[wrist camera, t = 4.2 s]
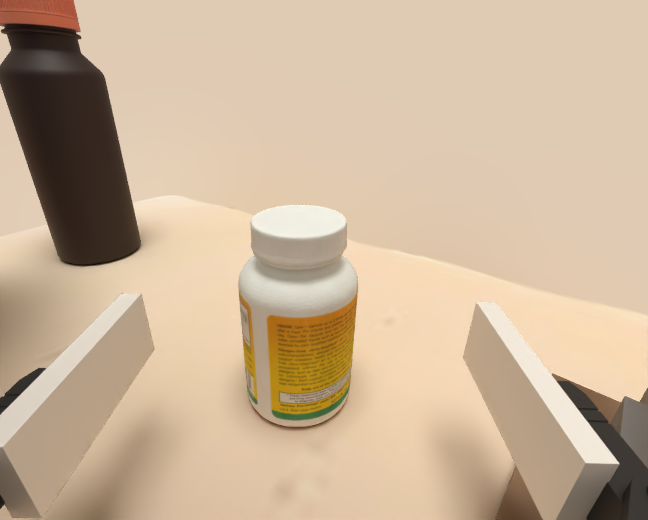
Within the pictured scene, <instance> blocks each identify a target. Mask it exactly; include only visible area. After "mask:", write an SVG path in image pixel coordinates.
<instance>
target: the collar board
mask: <svg viewBox="0 0 648 520" xmlns="http://www.w3.org/2000/svg"><path fill="white" fill-rule="evenodd" d="M552 376H553V378H554V379H555V380H556V381H569V380H567V379H564V378H562V377H560V376H557V375H555V374H553V373H552ZM569 382H571V381H569ZM571 383H572V384H573V385H575V386H576V387H577V388H579V389H580V390H581V391H583V392H584V393H585V394H586V395H587V396H588V397H589V398H590V400H591V401H592V402H593V403H594V404H595V406H596V407H597V408H598V411H599V412H601V413H602V414H603V415H604V416H605V418H606V419H607V420H608V423H609V424H611V425H612V426H613V427H614V428H615V430H616V431H617V432H618V433H619V434H620V436H621V437H622V438H623V439H624V440H625V442H626V443H627V444H628V445H629V446H630V448H631V449H632V450H633V451H634V453H635V454H636V455H637V456H638V457H639V459H640V460H641V461H642V462H643V463H644V465H645V466H646V467H647V468H648V388H647V390H646V392H645V393H644V395H643V397H642V399H641V400H640V402H638V401H636V400H633V399H631V398H628V397H626V396H625V397H624V399H623V401H622V402H618V401H616V400H614V399H611V398H609V397H607V396H604V395H602V394H600V393H597V392H595V391H592V390H590V389H588V388H585V387H583V386H581V385H578V384H576V383H574V382H571ZM496 520H543V519H542V517H541V515H540V513H539V511H538V509H537V507H536V505H535V503H534V501H533V499H532V497H531V495H530V493H529V491H528V489H527V486H526V484H525V482H524V480H523V478H522V476H521V474H520V472H519V470H518V468H517V466H516V468H515V470H514V473H513V476H512V478H511V481H510V483H509V486H508V488H507V491H506V494H505V496H504V499H503V501H502V504H501V507H500V509H499V512H498V514H497V517H496Z"/></svg>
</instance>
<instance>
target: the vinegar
mask: <svg viewBox="0 0 648 520" xmlns="http://www.w3.org/2000/svg"><path fill="white" fill-rule="evenodd" d="M0 26H4V27H5V28H4V29H2V30H1V32H2V33H4V34H7V36H8V39H9V43H10V46H11V51H10V53H9V54H8V55H7V57H6V58H5V60H4V61H3V62H2V64H1V65H0V84H1V87H2V90H3V93H4V96H5V99H6V102H7V105H8V108H9V111H10V114H11V117H12V119H13V122H14V125H15V128H16V131H17V134H18V137H19V140H20V143H21V146H22V149H23V152H24V155H25V158H26V161H27V164H28V167H29V170H30V173H31V176H32V179H33V182H34V185H35V188H36V191H37V194H38V197H39V200H40V203H41V206H42V209H43V212H44V215H45V218H46V221H47V224H48V227H49V230H50V233H51V236H52V239H53V242H54V244H55V247H56V250H57V253H58V256H59V257H60V258H61V259H62V260H63V261H65V262H68V263H72V264H81V265H88V264H99V263H104V262H109V261H113V260H116V259H120V258H123V257H125V256H127V255H129V254H131V253H132V252H134V251H135V250H136V249H137V248H138V247H139V245H140V243H141V240H140V235H139V231H138V226H137V222H136V217H135V213H134V208H133V203H132V200H131V194H130V190H129V185H128V181H127V176H126V172H125V167H124V163H123V158H122V154H121V150H120V144H119V140H118V135H117V131H116V126H115V122H114V117H113V113H112V108H111V104H110V99H109V94H108V90H107V86H106V81H105V77H104V75H103V73H102V72H101V71H100V70H99V69H98V68H96V67H95V66H94V65H93V64H92V63H91V62H90V61H89V60H88V59H87V58H86V57H85V56H83V55H82V54H81V52H80V47H79V43H78V39H81V36H80V35H78V34H76V32H80V27H79V23H78V18H77V13H76V10H75V5H74V1H73V0H0Z"/></svg>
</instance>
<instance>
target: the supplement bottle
mask: <svg viewBox="0 0 648 520" xmlns="http://www.w3.org/2000/svg"><path fill="white" fill-rule="evenodd" d="M346 237H347V221H346V218H345V217H344V216H343V215H342V214H341V213H339V212H337V211H335V210H332V209H329V208H326V207H320V206H312V205H286V206H279V207H274V208H270V209H266V210H264V211H261V212H259V213H257V214H256V215H255V216H254V217H253V218H252V220H251V248H252V250H253V253H254V255H255V256H253V257H252V258H251V259H250V260H249V261H248V262H247V263H246V264H245V266H244V267H243V269H242V271H241V273H240V277H239V300H240V311H241V323H242V334H243V347H244V357H245V371H246V379H247V389H248V395H249V398H250V401H251V403H252V405H253V407H254V408H255V409H256V410H257V412H258V413H259V414H260V415H261V416H263V417H264V418H266V419H267V420H269V421H271V422H273V423H276V424H278V425H283V426H289V427H303V426H311V425H315V424H318V423H321V422H324V421H326V420H327V419H329V418H331V417H332V416H333V415H335V414H336V413H337V412H338V411H339V410H340V409H341V407H342V406H343V405H344V403H345V402H346V400H347V397H348V393H349V387H350V378H351V367H352V354H353V342H354V330H355V317H356V305H357V293H358V278H357V274H356V271H355V269H354V267H353V266H352V264H351V263H350V262H349V260H348V259H346V258H345V257H344V256H343V255H342V254H343V252H344V250H345V249H346V246H347V240H346Z"/></svg>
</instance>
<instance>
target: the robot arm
mask: <svg viewBox="0 0 648 520" xmlns="http://www.w3.org/2000/svg"><path fill="white" fill-rule="evenodd" d="M153 351H154V345H153V340H152V336H151V332H150V328H149V323H148V319H147V315H146V311H145V306H144V302H143V298H142V294H141V293H121V294H120V295H119V296H118V297H117V298H116V299H115V300H114V301H113V302H112V303H111V304H110V305H109V306H108V307H107V308H106V309H105V310H104V311H103V312H102V313H101V314H100V315H99V316H98V317H97V318H96V319H95V320H94V321H93V322H92V323H91V324H90V325H89V326H88V327H87V328H86V330H85V331H84V332H83V333H82V334H81V335H80V336H79V337H78V338H77V339H76V340H75V341H74V342H73V343H72V344H71V345H70V346H69V347H68V348H67V349H66V350H65V351H64V352H63V353H62V354H61V355H60V356H59V357H58V358H57V359H56V360H55V361H54V362H53V363H52V364H51V365H50V366H49V367H48V368H38V369H36V370H35V371H33V372H32V373H30V374H28V375H27V376H25V377H23V378H22V379H20V380H19V381H18V382H17V383H16V384H15V385H14V386H13V387H12V388H11V389H10V390H8V391H7V392H6V393H5V396H4V397H1V398H0V509H1V508H2V506H3V505H4V504H5V506H6V508H7V509H8V511H9V512H10V514H11V516H12V517H13V518H43V516H44V515H45V513H46V512H47V510H48V509H49V507H50V506H51V504H52V503H53V501H54V500H55V498H56V497H57V495H58V494H59V492H60V491H61V489H62V488H63V486H64V485H65V483H66V482H67V480H68V479H69V477H70V476H71V474H72V473H73V471H74V470H75V468H76V467H77V465H78V464H79V462H80V461H81V459H82V458H83V456H84V455H85V453H86V452H87V450H88V449H89V447H90V446H91V444H92V443H93V441H94V440H95V438H96V436H97V435H98V433H99V432H100V430H101V429H102V427H103V426H104V424H105V423H106V421H107V420H108V418H109V417H110V415H111V414H112V412H113V411H114V409H115V408H116V406H117V405H118V403H119V402H120V400H121V399H122V397H123V396H124V394H125V393H126V391H127V390H128V388H129V387H130V385H131V384H132V382H133V381H134V379H135V378H136V376H137V375H138V373H139V372H140V370H141V369H142V367H143V366H144V364H145V363H146V361H147V360H148V358H149V357H150V355H151V354H152V352H153ZM463 358H464V360H465V362H466V364H467V366H468V368H469V370H470V372H471V374H472V376H473V379H474V381H475V383H476V385H477V387H478V389H479V391H480V393H481V395H482V397H483V399H484V401H485V403H486V405H487V407H488V409H489V411H490V413H491V415H492V417H493V419H494V421H495V423H496V425H497V427H498V429H499V431H500V434H501V436H502V438H503V440H504V442H505V444H506V446H507V448H508V450H509V452H510V454H511V456H512V458H513V460H514V462H515V464H516V466H517V468H518V470H519V472H520V474H521V476H522V478H523V480H524V482H525V484H526V486H527V489H528V491H529V493H530V495H531V497H532V499H533V501H534V503H535V505H536V507H537V509H538V511H539V513H540V515H541V517H542V519H543V520H648V468H647V467H646V466H645V465H644V463H643V462H642V461H641V460H640V459H639V457H638V456H637V455H636V454H635V453H634V451H633V450H632V449H631V448H630V446H629V445H628V444H627V443H626V442H625V440H624V439H623V438H622V437H621V436H620V434H619V433H618V432H617V431H616V430H615V428H614V427H613V426H612V425H611V424H609V423H608V420H607V419H606V418H605V416H604V415H603V414H602V413H601V412H599V411H598V408H597V407H596V406H595V404H594V403H593V402H592V401H591V400H590V398H589V397H588V396H587V395H586V394H585V393H584V392H583V391H581V390H580V389H579V388H577V387H576V386H575V385H573V384H572V383H571V382H569V381H556V380H555V379H554V378H553V376H552V375H551V374H550V372H549V371H548V370H547V368H546V367H545V366H544V364H543V363H542V362H541V361H540V359H539V358H538V357H537V355H536V354H535V353H534V351H533V350H532V349H531V348H530V346H529V345H528V344H527V342H526V341H525V340H524V338H523V337H522V336H521V334H520V333H519V332H518V331H517V329H516V328H515V327H514V325H513V324H512V323H511V321H510V320H509V319H508V318H507V316H506V315H505V314H504V312H503V311H502V310H501V308H500V307H499V306H498V304H497V303H491V302H476V306H475V310H474V314H473V318H472V322H471V327H470V331H469V335H468V339H467V343H466V347H465V351H464V355H463Z"/></svg>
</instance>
